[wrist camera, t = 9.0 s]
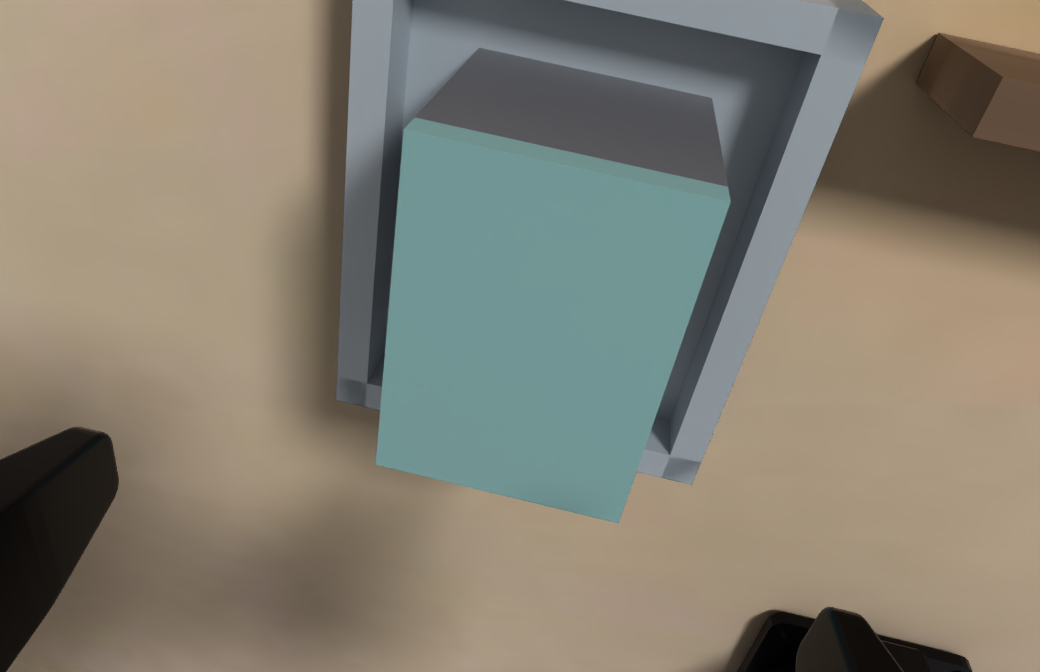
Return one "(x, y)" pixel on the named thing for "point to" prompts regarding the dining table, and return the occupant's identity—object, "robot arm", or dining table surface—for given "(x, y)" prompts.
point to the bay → (986, 89)
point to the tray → (637, 57)
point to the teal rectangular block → (544, 277)
